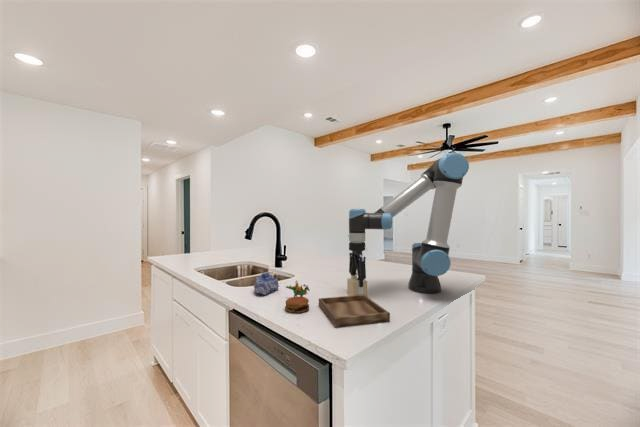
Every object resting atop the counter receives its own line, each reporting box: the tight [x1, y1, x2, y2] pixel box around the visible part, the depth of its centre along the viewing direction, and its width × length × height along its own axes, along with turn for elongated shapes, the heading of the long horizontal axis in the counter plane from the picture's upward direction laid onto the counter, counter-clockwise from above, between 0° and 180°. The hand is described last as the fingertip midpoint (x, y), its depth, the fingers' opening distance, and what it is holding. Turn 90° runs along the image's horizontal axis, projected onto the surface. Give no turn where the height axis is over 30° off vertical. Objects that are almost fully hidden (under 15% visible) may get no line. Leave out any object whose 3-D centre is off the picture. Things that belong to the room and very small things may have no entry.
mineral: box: [253, 271, 280, 296], centre depth 130 cm, size 14×10×10 cm
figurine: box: [285, 280, 310, 297], centre depth 120 cm, size 3×12×8 cm, turn 69°
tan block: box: [346, 277, 368, 297], centre depth 126 cm, size 7×7×7 cm
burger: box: [284, 296, 310, 314], centre depth 107 cm, size 10×9×5 cm
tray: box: [318, 295, 391, 329], centre depth 103 cm, size 20×22×3 cm
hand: (357, 291), depth 126 cm, fingers closed on tan block, 7 cm apart
